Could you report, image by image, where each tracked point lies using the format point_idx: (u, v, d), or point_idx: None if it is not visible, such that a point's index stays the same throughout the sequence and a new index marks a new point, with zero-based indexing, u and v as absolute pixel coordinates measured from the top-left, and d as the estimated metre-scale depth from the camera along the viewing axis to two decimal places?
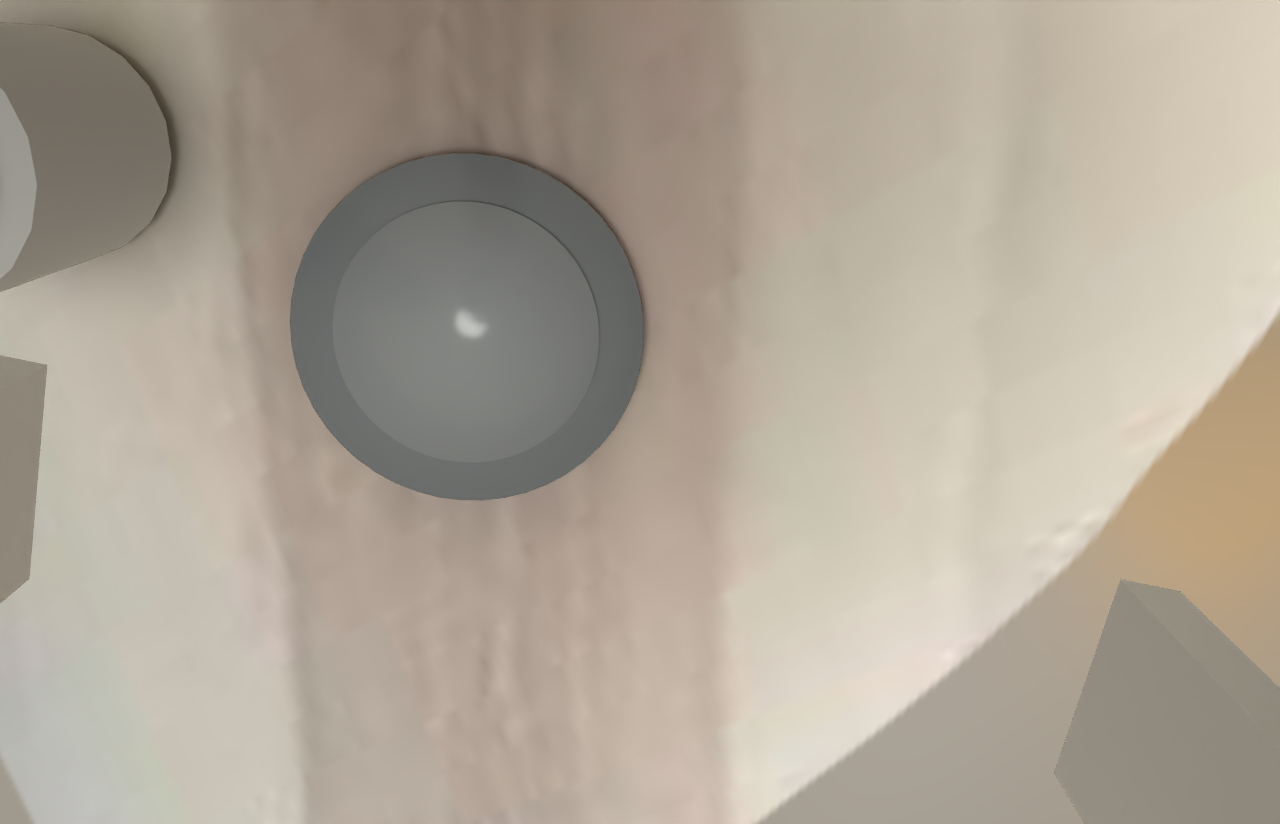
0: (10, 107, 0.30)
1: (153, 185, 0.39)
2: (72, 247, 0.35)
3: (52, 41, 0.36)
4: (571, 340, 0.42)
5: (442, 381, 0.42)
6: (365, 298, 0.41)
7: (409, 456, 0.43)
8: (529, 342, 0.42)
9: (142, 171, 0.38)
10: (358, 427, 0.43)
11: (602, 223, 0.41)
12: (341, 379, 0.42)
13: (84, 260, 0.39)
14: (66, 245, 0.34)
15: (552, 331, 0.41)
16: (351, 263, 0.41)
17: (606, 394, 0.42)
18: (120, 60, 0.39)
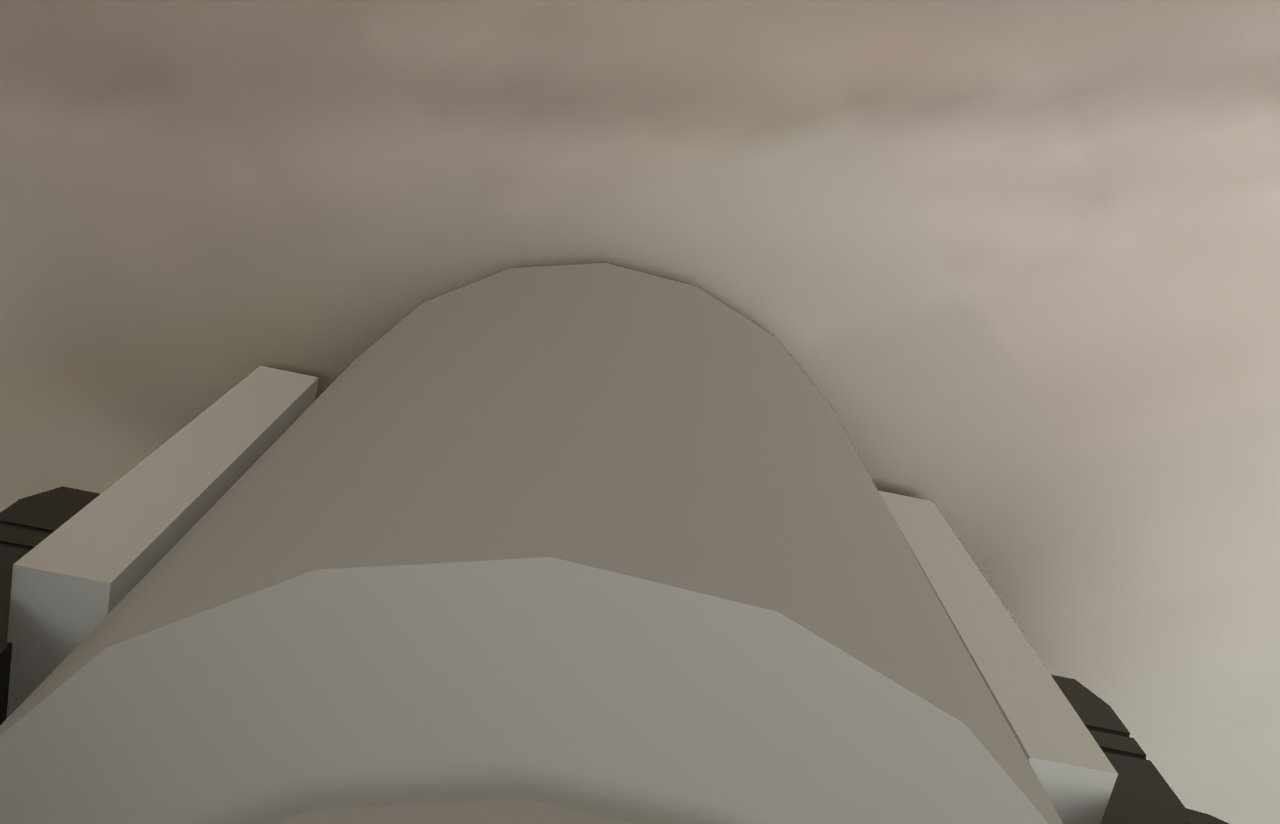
0: (176, 633, 0.06)
1: (670, 297, 0.14)
2: (849, 492, 0.10)
3: None
4: None
5: None
6: None
7: None
8: None
9: (623, 304, 0.13)
10: None
11: None
12: None
13: None
14: (840, 506, 0.09)
15: None
16: None
17: None
18: (355, 360, 0.15)
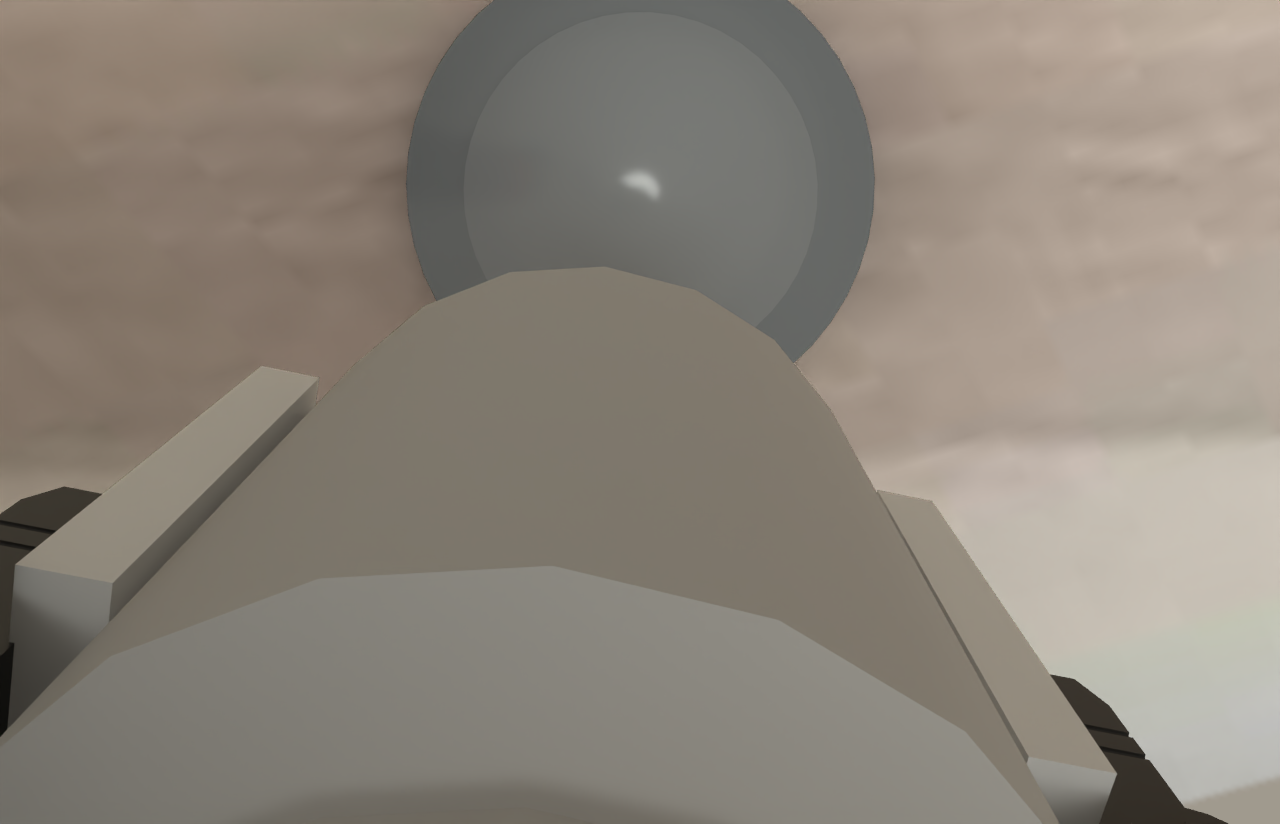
0: (179, 642, 0.06)
1: (670, 302, 0.14)
2: (849, 498, 0.10)
3: None
4: (644, 51, 0.30)
5: (703, 230, 0.31)
6: None
7: (809, 277, 0.32)
8: (647, 111, 0.31)
9: (624, 308, 0.13)
10: None
11: (484, 10, 0.30)
12: None
13: None
14: (841, 512, 0.09)
15: (632, 78, 0.30)
16: None
17: (723, 1, 0.30)
18: (356, 364, 0.15)
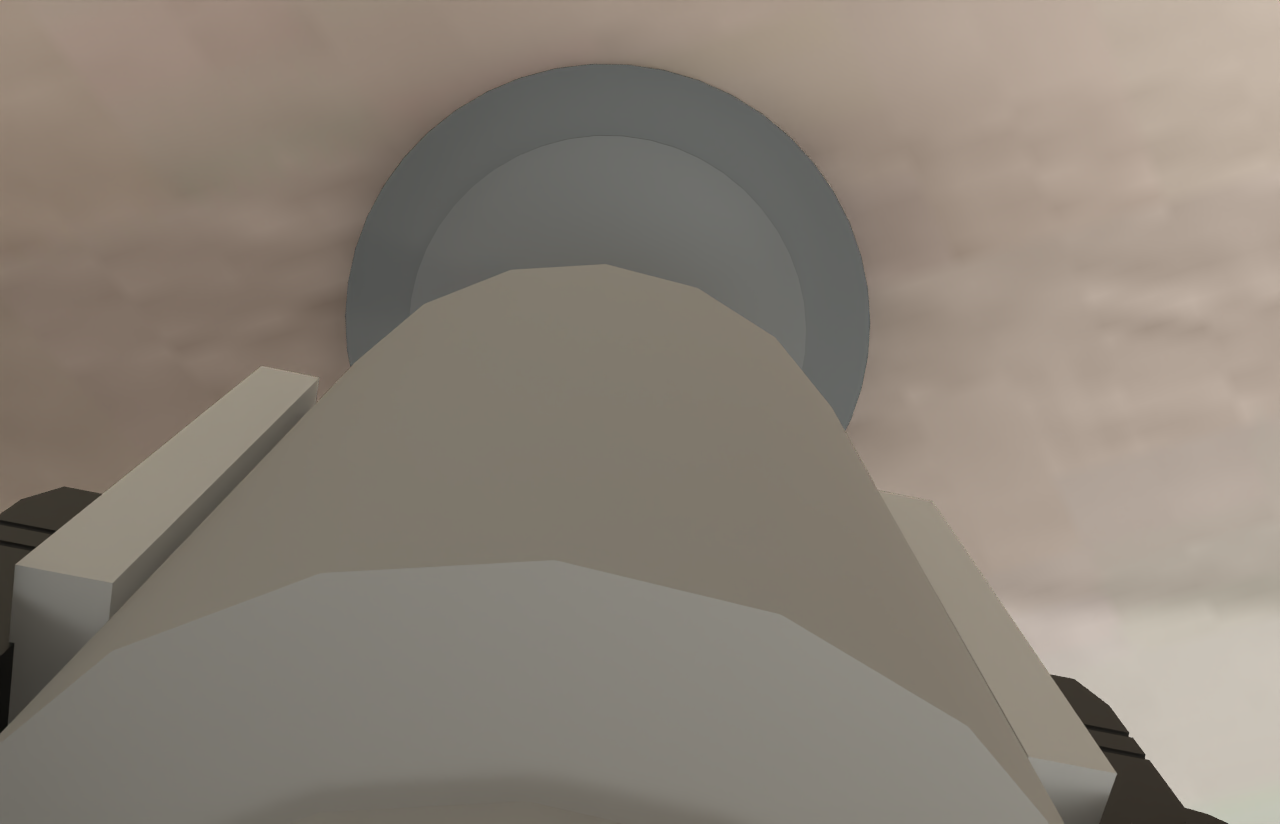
0: (181, 637, 0.06)
1: (672, 298, 0.14)
2: (851, 494, 0.10)
3: None
4: (614, 179, 0.27)
5: None
6: None
7: None
8: (617, 244, 0.27)
9: (625, 306, 0.13)
10: None
11: (435, 128, 0.27)
12: None
13: None
14: (844, 508, 0.09)
15: (599, 209, 0.27)
16: None
17: (704, 125, 0.27)
18: (357, 362, 0.15)
